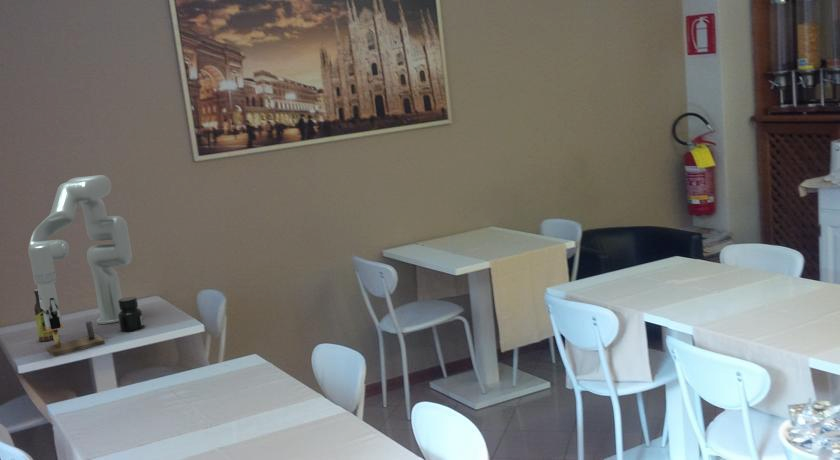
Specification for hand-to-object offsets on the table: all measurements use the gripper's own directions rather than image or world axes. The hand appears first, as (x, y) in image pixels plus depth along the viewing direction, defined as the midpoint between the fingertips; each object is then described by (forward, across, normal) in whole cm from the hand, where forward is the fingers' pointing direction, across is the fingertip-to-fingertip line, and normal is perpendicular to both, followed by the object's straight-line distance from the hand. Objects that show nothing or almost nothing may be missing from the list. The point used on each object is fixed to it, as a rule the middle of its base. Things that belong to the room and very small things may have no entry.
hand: (54, 326), depth 329 cm
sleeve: (+1, 0, 0) cm, 1 cm away
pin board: (+9, 0, +6) cm, 11 cm away
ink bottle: (+10, -7, +29) cm, 31 cm away
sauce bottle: (+10, -24, +1) cm, 26 cm away
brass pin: (+9, 0, 0) cm, 9 cm away
